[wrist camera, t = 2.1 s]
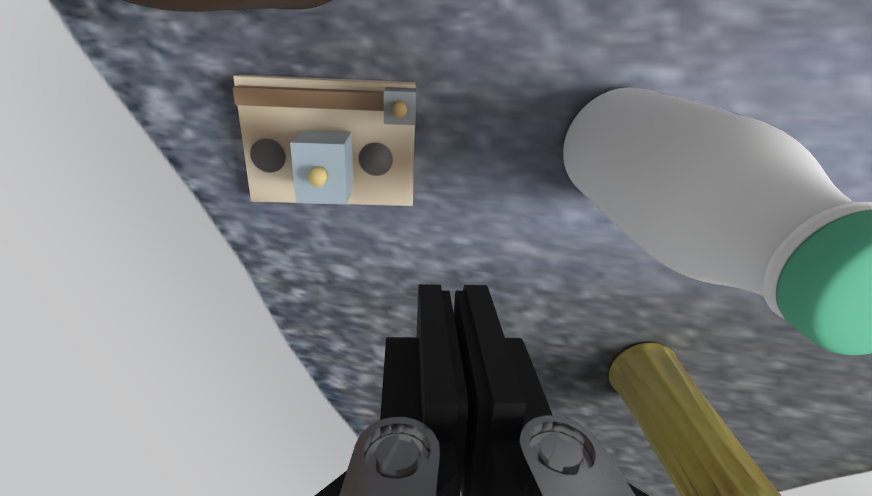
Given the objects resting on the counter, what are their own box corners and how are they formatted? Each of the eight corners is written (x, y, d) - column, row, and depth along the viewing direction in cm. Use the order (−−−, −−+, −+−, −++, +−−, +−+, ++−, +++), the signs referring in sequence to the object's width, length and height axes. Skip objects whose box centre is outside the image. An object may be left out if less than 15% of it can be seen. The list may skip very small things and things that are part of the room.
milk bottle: (561, 204, 33) (741, 413, 15) (558, 96, 29) (785, 198, 12) (666, 187, 33) (976, 378, 15) (674, 76, 29) (1090, 149, 11)
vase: (663, 394, 42) (775, 555, 29) (600, 393, 41) (685, 556, 29) (684, 342, 39) (816, 493, 26) (617, 340, 39) (718, 493, 26)
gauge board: (240, 74, 28) (207, 82, 23) (415, 82, 29) (416, 91, 24) (256, 195, 31) (230, 223, 27) (412, 199, 32) (412, 227, 28)
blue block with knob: (303, 130, 28) (286, 145, 24) (351, 131, 28) (342, 147, 24) (308, 184, 30) (292, 207, 26) (353, 186, 30) (344, 209, 26)
